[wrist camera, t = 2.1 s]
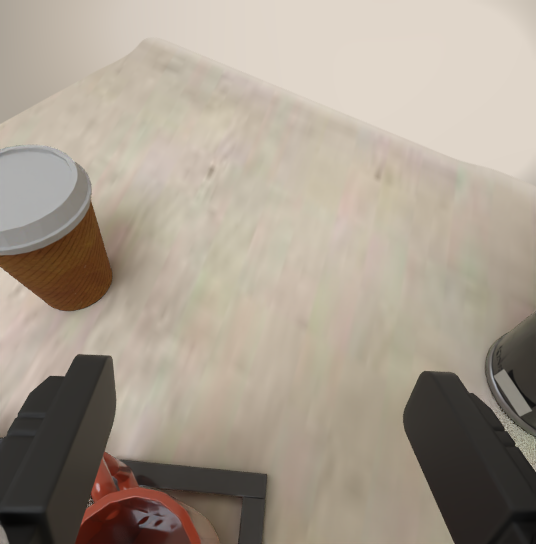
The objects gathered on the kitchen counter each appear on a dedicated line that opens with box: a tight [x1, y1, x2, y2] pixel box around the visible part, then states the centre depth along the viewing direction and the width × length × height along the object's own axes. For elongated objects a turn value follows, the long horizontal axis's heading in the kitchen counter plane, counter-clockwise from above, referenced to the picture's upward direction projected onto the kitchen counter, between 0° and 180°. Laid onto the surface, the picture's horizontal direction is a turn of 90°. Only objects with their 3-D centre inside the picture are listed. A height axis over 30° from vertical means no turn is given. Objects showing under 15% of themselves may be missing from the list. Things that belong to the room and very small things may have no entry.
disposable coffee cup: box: [0, 145, 112, 311], centre depth 31 cm, size 10×10×12 cm
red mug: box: [75, 451, 220, 544], centre depth 20 cm, size 9×6×11 cm, turn 35°
